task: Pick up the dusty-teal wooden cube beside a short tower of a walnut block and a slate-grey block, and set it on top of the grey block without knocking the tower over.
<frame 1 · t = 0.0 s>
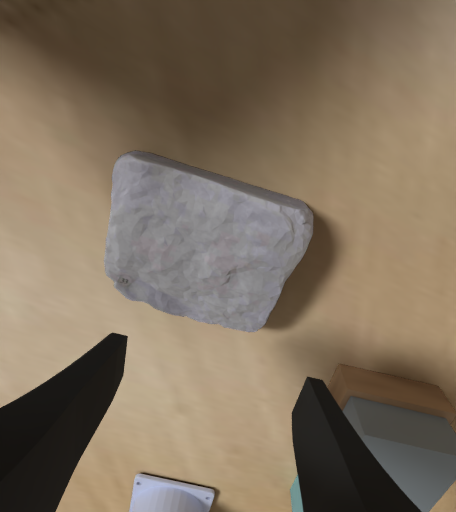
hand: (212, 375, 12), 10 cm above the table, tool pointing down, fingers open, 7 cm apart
tower base: (366, 406, 26), on the table
teal cube: (316, 480, 30), on the table
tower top: (377, 439, 24), point 3 cm above the table
stone block: (205, 242, 22), on the table
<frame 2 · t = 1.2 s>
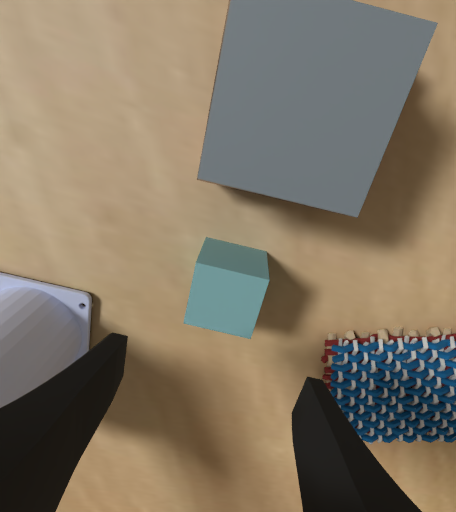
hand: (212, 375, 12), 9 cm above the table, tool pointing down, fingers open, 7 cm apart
teal cube: (229, 270, 21), on the table
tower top: (294, 111, 15), point 3 cm above the table
woven mat: (388, 375, 24), on the table
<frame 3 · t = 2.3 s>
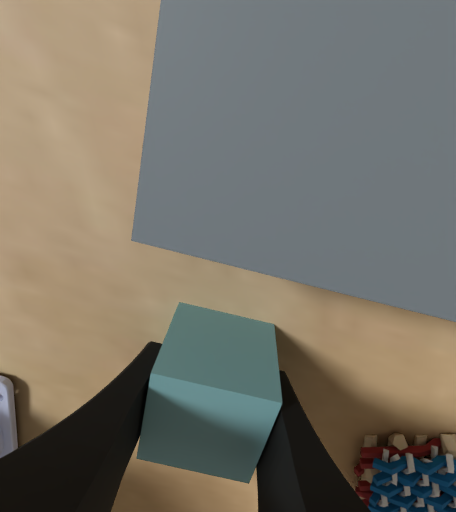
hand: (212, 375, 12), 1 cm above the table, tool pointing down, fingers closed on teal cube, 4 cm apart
teal cube: (216, 349, 14), on the table, touching gripper
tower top: (342, 94, 7), point 3 cm above the table
woven mat: (447, 484, 17), on the table
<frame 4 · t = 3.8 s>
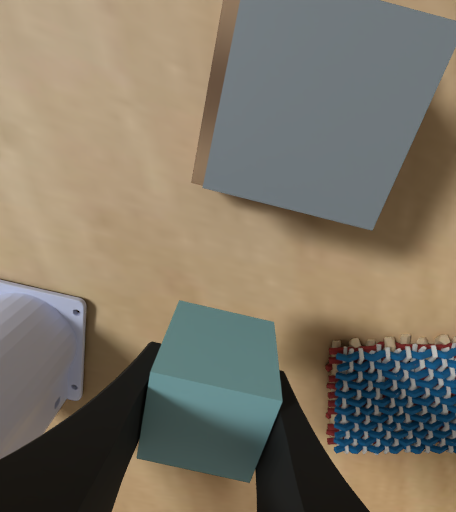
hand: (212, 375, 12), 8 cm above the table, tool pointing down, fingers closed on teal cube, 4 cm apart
tower base: (288, 115, 17), on the table, touching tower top
teal cube: (216, 348, 14), point 7 cm above the table, touching gripper
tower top: (305, 115, 14), point 3 cm above the table, touching tower base
woven mat: (395, 384, 23), on the table
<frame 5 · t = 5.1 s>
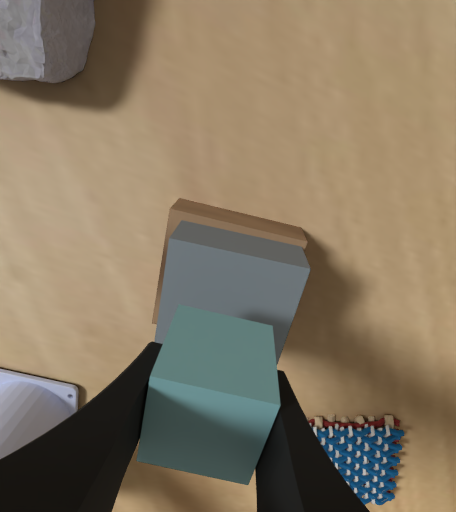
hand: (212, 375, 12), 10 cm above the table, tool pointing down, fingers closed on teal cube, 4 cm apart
tower base: (227, 265, 22), on the table, touching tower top
teal cube: (216, 352, 14), point 9 cm above the table, touching gripper
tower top: (229, 285, 19), point 3 cm above the table, touching tower base
woven mat: (329, 447, 29), on the table
when the fingers open (8 cm above the table, at t = 5.8 s): teal cube drops 1 cm, resting on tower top.
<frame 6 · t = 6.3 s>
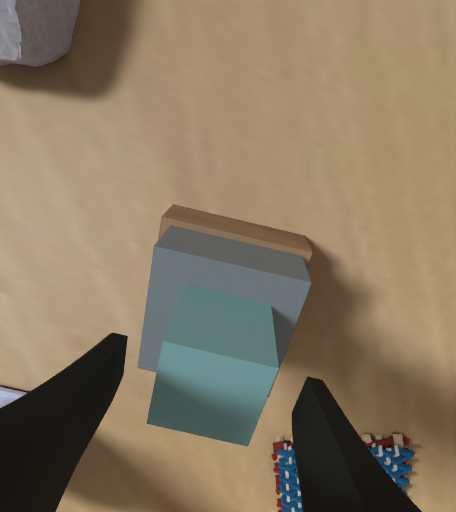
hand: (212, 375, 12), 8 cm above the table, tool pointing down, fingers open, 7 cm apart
tower base: (225, 275, 21), on the table, touching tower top
teal cube: (218, 330, 15), point 6 cm above the table, touching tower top
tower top: (222, 296, 18), point 3 cm above the table, touching teal cube, tower base
woven mat: (334, 465, 27), on the table
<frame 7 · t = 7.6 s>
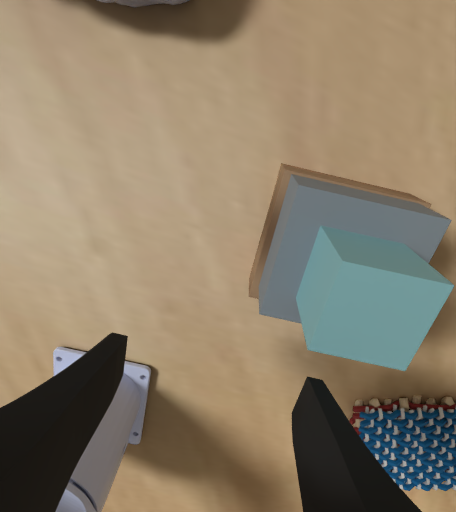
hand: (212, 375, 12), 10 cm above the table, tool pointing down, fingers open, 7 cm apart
tower base: (322, 236, 21), on the table
teal cube: (347, 272, 15), point 5 cm above the table, touching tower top
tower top: (332, 248, 18), point 2 cm above the table, touching teal cube
woven mat: (407, 431, 28), on the table
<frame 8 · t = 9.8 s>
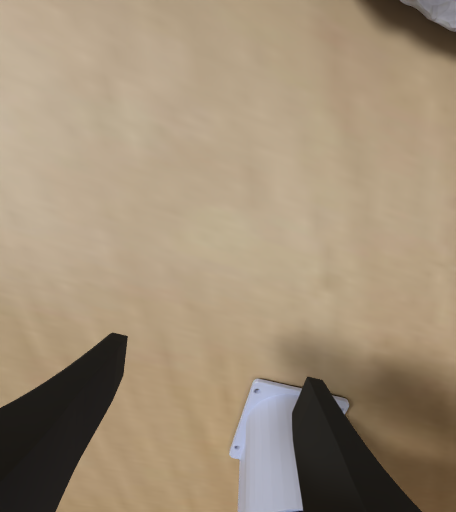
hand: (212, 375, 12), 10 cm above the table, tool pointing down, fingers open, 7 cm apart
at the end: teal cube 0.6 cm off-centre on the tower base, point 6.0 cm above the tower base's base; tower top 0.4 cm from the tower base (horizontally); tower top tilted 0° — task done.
